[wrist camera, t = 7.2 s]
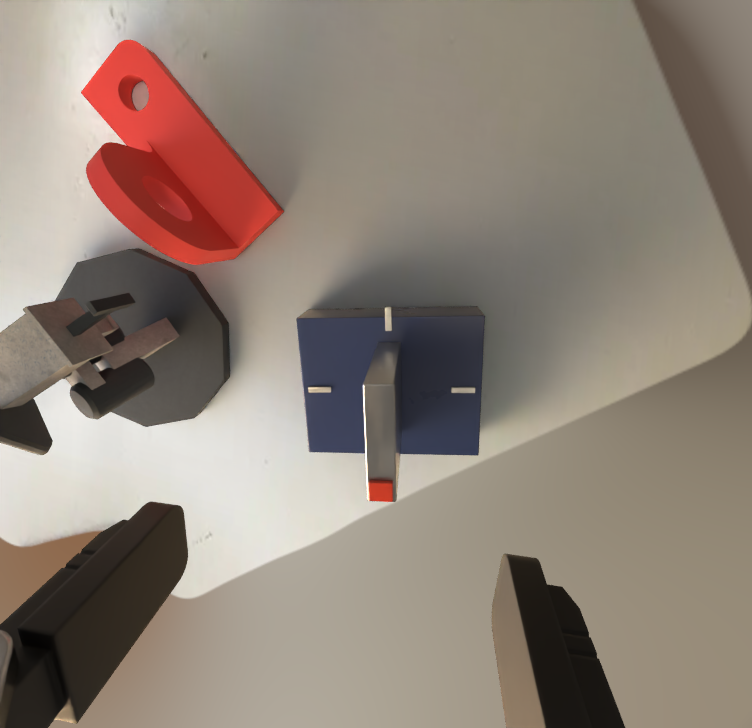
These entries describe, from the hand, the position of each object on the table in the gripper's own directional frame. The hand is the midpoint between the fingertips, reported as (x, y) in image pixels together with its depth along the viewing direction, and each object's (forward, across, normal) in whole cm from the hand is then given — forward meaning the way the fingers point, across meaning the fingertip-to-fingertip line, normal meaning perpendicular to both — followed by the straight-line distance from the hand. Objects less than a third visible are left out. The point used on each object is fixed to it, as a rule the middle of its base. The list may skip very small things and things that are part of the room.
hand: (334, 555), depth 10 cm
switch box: (+19, 0, +2) cm, 19 cm away
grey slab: (+16, 0, +2) cm, 16 cm away
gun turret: (+18, +20, +3) cm, 27 cm away
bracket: (+18, +13, -11) cm, 25 cm away
